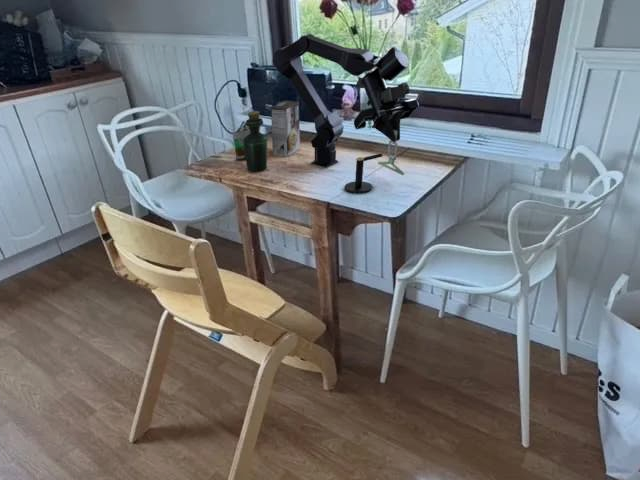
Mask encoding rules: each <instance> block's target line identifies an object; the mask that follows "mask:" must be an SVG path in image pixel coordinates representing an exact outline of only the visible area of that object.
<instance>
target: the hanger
mask: <svg viewBox="0 0 640 480" xmlns="http://www.w3.org/2000/svg"><path fill="white" fill-rule="evenodd" d="M393 131H394V134H395V137H396V140H395V142H393V141H391V140H390V139H389V141H388V146H387V147H388V149H387V158H388V159H387V161H377V164H378V165H380V166H382V167H384V168H386V169H389V170H390V171H393V172H395V173H397V174H399V175H402V176H404V175H405V172H404V171H402V170H401V168H399V167H398V166H397V165H396V164H395V161H396V160H397V154H398V146H399V144H398V143H397V142H398V141H397V133H398V131H396V130H393ZM391 144H392V145H395V146H394V147H395V150H394V157H393V156H391V155H390V153H391ZM390 165H391V166H390Z"/></svg>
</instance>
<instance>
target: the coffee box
mask: <svg viewBox="0 0 640 480" xmlns="http://www.w3.org/2000/svg"><path fill="white" fill-rule="evenodd" d="M270 112H271V113H270V117H271V118H270V119H271V120H270V121H271V145H272V155H273V156H279V157H286V158H287V157H290V156H291V155H293V154H294V153H295V152H297V151H298V150H300V149H301V145H300V143H301V141H300V101H293V100H282V101H280V102H279V103H276V104H275V105H273V106H271V107H270Z"/></svg>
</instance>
